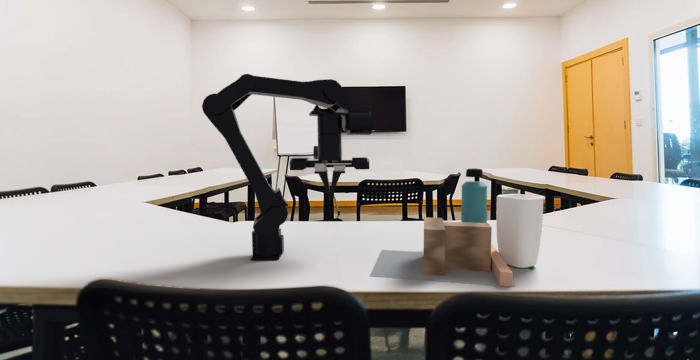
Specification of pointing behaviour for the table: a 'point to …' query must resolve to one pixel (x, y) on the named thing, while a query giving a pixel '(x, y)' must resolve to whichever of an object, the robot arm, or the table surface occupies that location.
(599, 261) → the table surface
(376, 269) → the runner mat
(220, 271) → the table surface
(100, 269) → the table surface
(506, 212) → the cup
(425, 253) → the t block
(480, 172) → the teal bottle
